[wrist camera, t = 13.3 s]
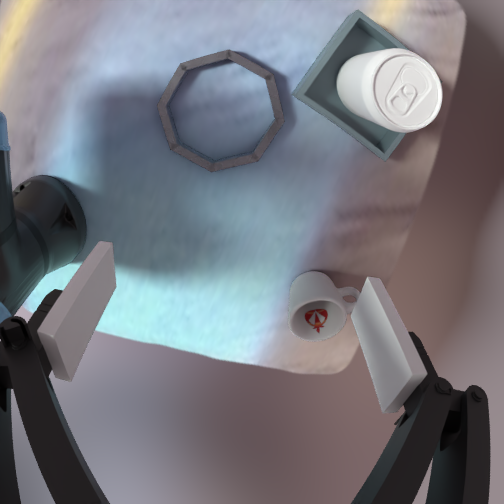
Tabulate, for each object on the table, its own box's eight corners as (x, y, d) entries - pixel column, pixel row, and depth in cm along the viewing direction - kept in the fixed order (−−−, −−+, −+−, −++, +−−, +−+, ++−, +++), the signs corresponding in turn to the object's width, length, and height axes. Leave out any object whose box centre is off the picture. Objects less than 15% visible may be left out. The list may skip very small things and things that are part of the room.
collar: (146, 132, 37) (142, 134, 36) (200, 35, 31) (198, 34, 30) (241, 184, 41) (240, 188, 39) (302, 92, 35) (304, 93, 33)
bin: (291, 94, 35) (294, 96, 31) (348, 15, 29) (357, 9, 26) (374, 153, 38) (385, 161, 34) (427, 80, 32) (442, 81, 29)
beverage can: (408, 82, 32) (460, 89, 22) (374, 130, 36) (416, 153, 25) (358, 41, 30) (397, 29, 20) (322, 91, 34) (348, 97, 23)
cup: (353, 256, 46) (368, 289, 39) (354, 298, 50) (366, 333, 43) (281, 268, 47) (284, 303, 40) (288, 309, 51) (291, 346, 44)
